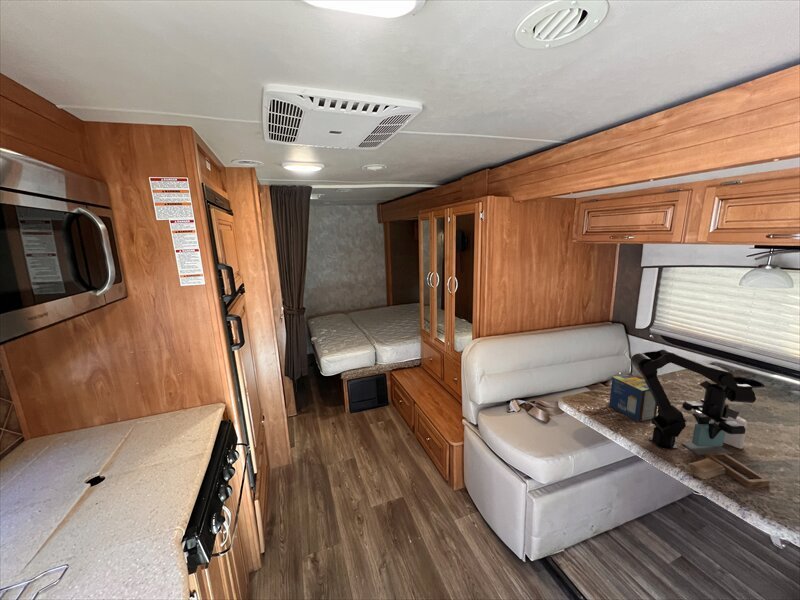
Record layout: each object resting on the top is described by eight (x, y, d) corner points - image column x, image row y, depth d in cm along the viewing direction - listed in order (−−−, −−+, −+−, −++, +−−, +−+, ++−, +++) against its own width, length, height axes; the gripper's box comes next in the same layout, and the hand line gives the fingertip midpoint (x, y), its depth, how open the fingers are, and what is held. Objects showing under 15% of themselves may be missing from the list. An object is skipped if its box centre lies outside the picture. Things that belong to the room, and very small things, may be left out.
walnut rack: (747, 487, 102) (748, 482, 102) (704, 458, 116) (705, 453, 116) (768, 486, 102) (769, 481, 102) (723, 457, 116) (724, 452, 116)
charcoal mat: (698, 455, 118) (698, 454, 117) (681, 443, 124) (681, 442, 124) (731, 454, 118) (731, 453, 118) (712, 442, 125) (713, 441, 125)
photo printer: (705, 436, 129) (710, 409, 127) (709, 433, 131) (714, 406, 129) (741, 450, 120) (746, 421, 118) (744, 446, 122) (750, 418, 120)
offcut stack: (686, 470, 111) (688, 463, 110) (708, 464, 114) (709, 457, 113) (703, 481, 106) (705, 473, 105) (725, 473, 109) (726, 466, 108)
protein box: (624, 402, 157) (628, 373, 154) (656, 418, 142) (660, 387, 140) (608, 405, 155) (611, 376, 152) (638, 422, 140) (642, 390, 137)
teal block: (722, 445, 120) (726, 427, 118) (697, 446, 120) (701, 427, 118) (716, 441, 122) (719, 423, 121) (691, 442, 122) (695, 424, 120)
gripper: (764, 412, 108) (755, 451, 111) (710, 387, 127) (704, 422, 130) (733, 413, 108) (725, 452, 111) (683, 388, 127) (678, 423, 129)
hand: (708, 436), depth 120 cm, fingers closed on teal block, 2 cm apart
